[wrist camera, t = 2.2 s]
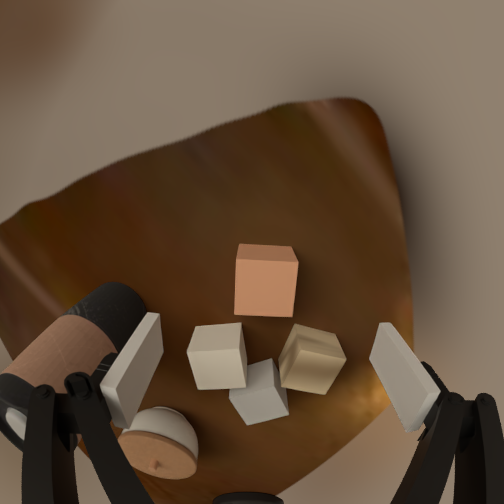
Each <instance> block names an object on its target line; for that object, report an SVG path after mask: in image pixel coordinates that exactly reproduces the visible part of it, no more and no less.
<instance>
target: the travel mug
mask: <svg viewBox="0 0 504 504" xmlns="http://www.w3.org/2000/svg"><path fill="white" fill-rule="evenodd" d="M145 315H146V309H145V306H144V304H143V302H142V300H141V298H140V297H139V296H138V295H137V293H136V292H135V291H133V290H132V289H131V288H130V287H128V286H126V285H124V284H121V283H117V282H108V283H105V284H103V285H101V286H99V287H98V288H97V289H95V290H94V291H92V292H91V293H90V294H89V295H87V296H86V297H85V298H83V299H82V300H81V301H79V302H78V303H77V304H76V305H74V306H73V307H72V308H70V309H69V310H68V311H67V312H65V313H64V314H63V315H62V316H60V317H59V318H58V319H57V320H56V321H55V322H54V323H52V324H51V325H50V326H49V327H48V328H47V329H46V330H45V331H44V332H43V333H42V334H41V335H40V336H38V337H37V338H36V339H35V340H34V341H33V342H32V343H31V344H30V345H29V346H28V347H27V348H26V349H25V350H24V351H23V352H22V353H21V354H20V355H19V356H18V357H17V358H16V359H15V360H14V361H13V362H12V363H11V364H10V365H9V366H8V367H7V368H6V369H5V370H4V371H3V372H2V373H1V375H0V431H1V432H2V433H3V435H4V436H5V437H6V438H7V439H8V440H9V441H11V443H12V444H14V445H15V446H16V447H17V448H18V449H19V450H21V451H22V452H23V446H24V436H25V428H26V420H27V414H28V407H29V402H30V396H31V392H32V390H33V389H34V388H35V387H36V386H39V385H42V384H47V385H50V386H52V387H53V388H54V389H55V392H56V393H67V391H66V388H65V386H64V380H65V378H66V377H67V376H68V375H69V374H71V373H74V372H85V373H87V374H88V375H89V376H91V375H92V373H93V372H94V371H95V369H96V368H97V366H98V365H99V364H100V362H101V361H102V359H103V358H104V357H105V356H106V355H108V354H109V353H111V352H113V353H119V354H120V352H121V351H122V349H123V348H124V346H125V345H126V343H127V342H128V340H129V339H130V337H131V336H132V334H133V333H134V331H135V330H136V328H137V327H138V325H139V324H140V322H141V321H142V319H143V318H144V317H145ZM81 437H82V436H81V434H73V448H74V450H75V448H76V446H77V445H78V443H79V441H80V439H81Z"/></svg>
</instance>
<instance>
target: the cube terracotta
mask: <svg viewBox="0 0 504 504" xmlns="http://www.w3.org/2000/svg"><path fill="white" fill-rule="evenodd" d="M297 272H298V260H297V258H296V256H295V254H294V252H293V249H292V247H288V246H270V245H251V244H239V248H238V253H237V258H236V281H235V311H234V315H253V316H276V317H292V315H293V307H294V298H295V290H296V281H297Z"/></svg>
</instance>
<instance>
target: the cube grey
mask: <svg viewBox="0 0 504 504" xmlns="http://www.w3.org/2000/svg"><path fill="white" fill-rule="evenodd" d="M229 399H230V401H231V402H232V404H233V405H234V407H235V408H236V410H237V411H238V413H239V414H240V416H241V417H242V419H243V420H244V421H245V423H246V424H247V425H251V424H255V423H259V422H263V421H267V420H271V419H275V418H279V417H283V416H286V415H289V409H288V401H287V393H286V388H285V387H281V379H280V374H279V372H278V370H277V368H276V366H275V363H274V361H273V359H272V358H271V359H268V360H264V361H261V362H258V363H255V364H251V365H248V366H247V378H246V388H231V389H230V392H229Z"/></svg>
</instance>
